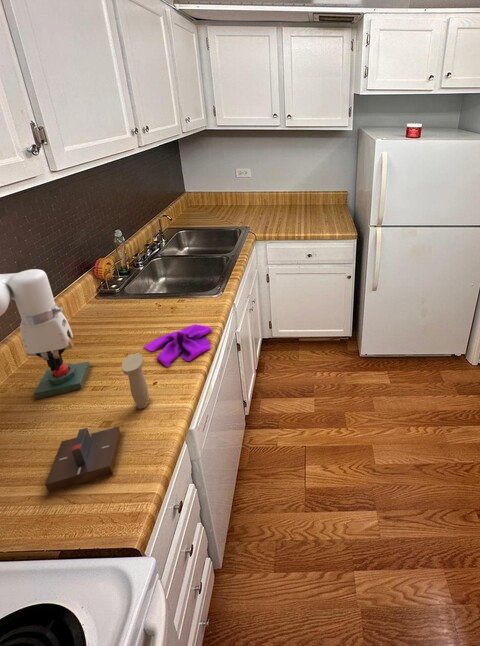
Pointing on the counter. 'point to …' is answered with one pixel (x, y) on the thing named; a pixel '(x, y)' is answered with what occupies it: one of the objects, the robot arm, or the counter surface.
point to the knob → (81, 446)
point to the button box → (63, 381)
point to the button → (61, 371)
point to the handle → (136, 379)
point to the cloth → (181, 344)
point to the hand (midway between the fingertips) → (57, 367)
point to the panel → (95, 466)
